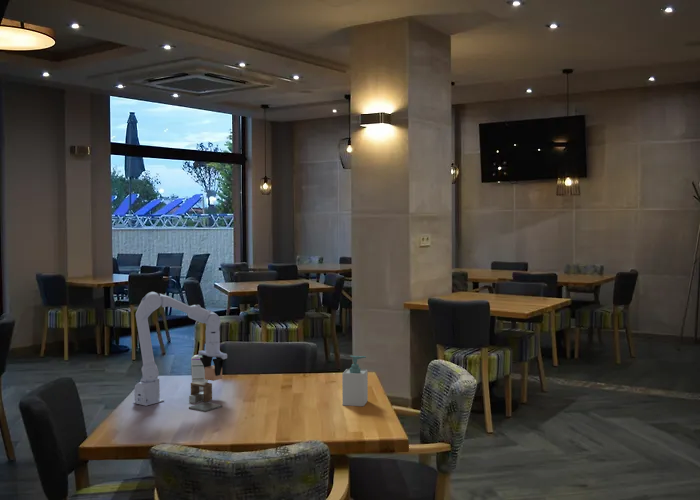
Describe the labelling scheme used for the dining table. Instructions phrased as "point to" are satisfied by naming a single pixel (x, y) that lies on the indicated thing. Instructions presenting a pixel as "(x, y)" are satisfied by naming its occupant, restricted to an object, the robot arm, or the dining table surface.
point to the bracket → (206, 389)
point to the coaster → (205, 406)
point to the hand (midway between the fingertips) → (212, 374)
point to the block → (212, 373)
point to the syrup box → (198, 370)
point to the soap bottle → (355, 384)
